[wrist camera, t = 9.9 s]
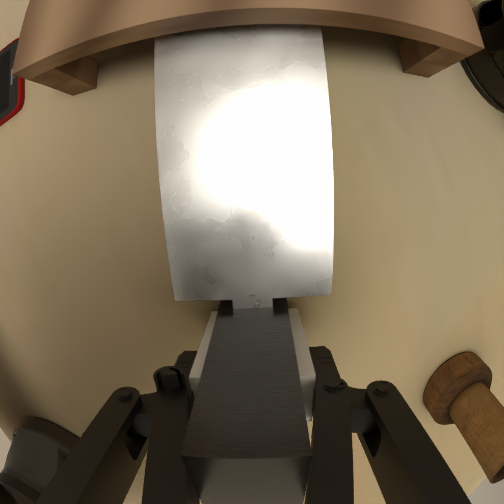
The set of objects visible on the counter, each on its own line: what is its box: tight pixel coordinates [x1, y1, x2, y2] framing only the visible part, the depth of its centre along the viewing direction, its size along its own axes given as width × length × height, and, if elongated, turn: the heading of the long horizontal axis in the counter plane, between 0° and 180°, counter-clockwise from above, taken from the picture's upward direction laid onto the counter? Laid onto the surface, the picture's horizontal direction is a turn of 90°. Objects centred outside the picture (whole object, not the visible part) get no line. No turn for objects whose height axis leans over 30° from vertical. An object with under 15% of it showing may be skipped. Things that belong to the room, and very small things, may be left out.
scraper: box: [154, 24, 334, 504], centre depth 11 cm, size 8×19×12 cm, turn 3°
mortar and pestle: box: [424, 352, 504, 483], centre depth 11 cm, size 7×6×18 cm
